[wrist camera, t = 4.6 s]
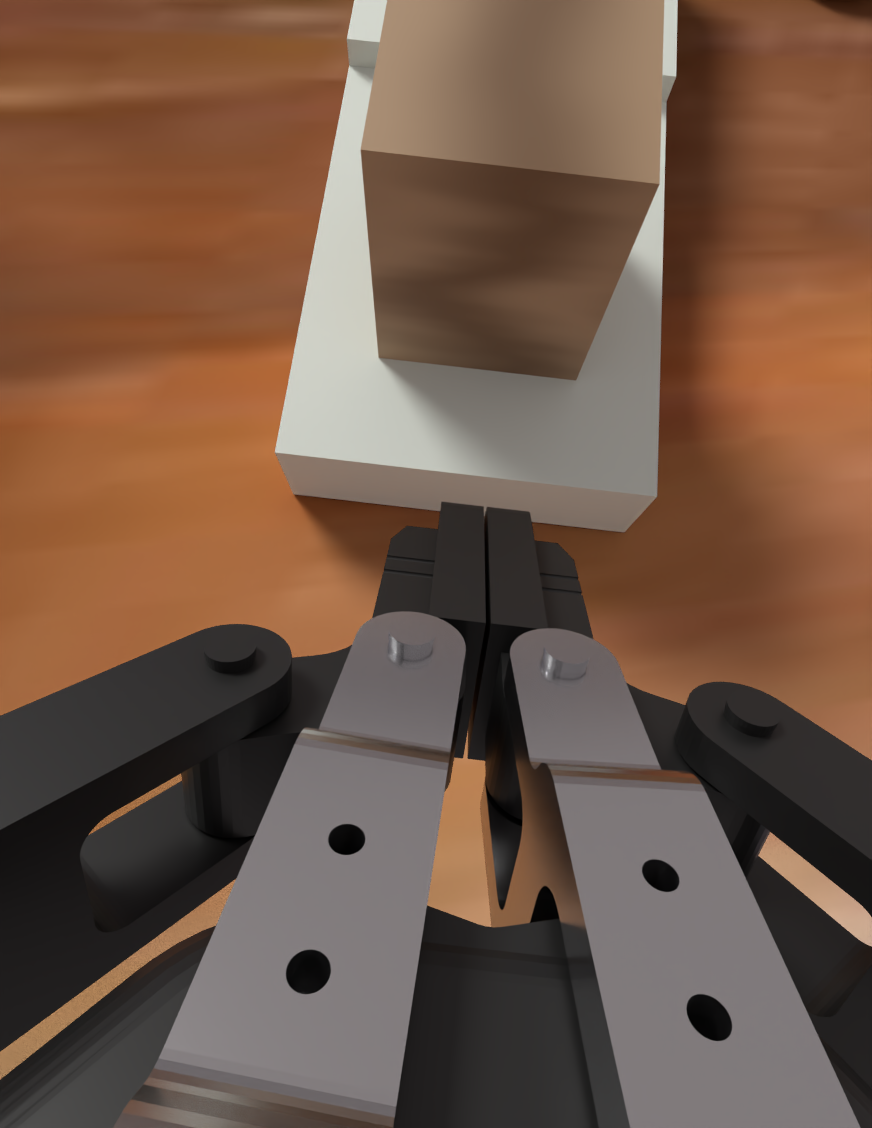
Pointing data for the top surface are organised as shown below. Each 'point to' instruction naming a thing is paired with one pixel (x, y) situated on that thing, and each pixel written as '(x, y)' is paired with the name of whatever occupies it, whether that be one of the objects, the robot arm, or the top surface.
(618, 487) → the ledge
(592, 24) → the block
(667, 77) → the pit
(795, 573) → the top surface
